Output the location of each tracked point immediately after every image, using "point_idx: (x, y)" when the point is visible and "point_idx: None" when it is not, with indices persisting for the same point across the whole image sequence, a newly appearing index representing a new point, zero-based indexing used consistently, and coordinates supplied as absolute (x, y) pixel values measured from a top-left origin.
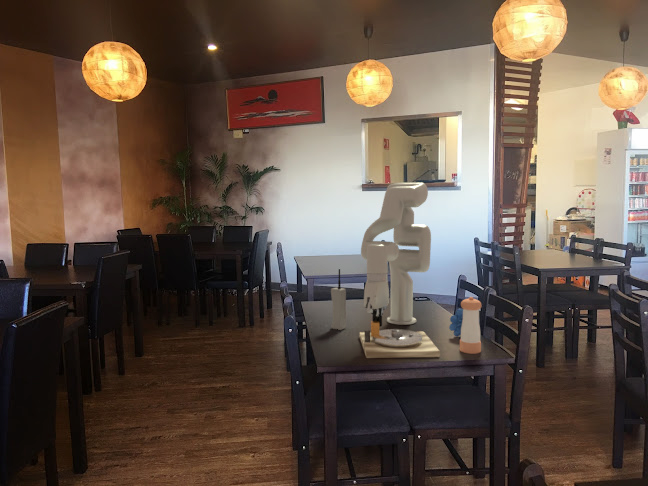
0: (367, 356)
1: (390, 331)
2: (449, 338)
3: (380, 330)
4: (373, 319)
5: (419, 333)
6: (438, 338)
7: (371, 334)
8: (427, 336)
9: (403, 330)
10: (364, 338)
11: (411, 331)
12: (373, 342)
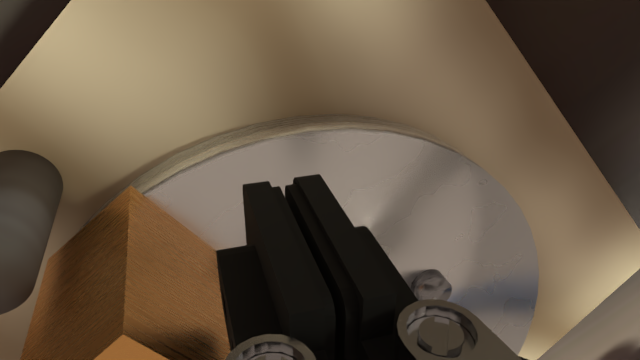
0: None
1: (408, 239)
2: (632, 337)
3: (375, 137)
4: (230, 312)
5: (592, 275)
6: (611, 308)
7: (48, 279)
8: (543, 352)
9: (511, 281)
10: (87, 58)
11: (513, 337)
12: None
